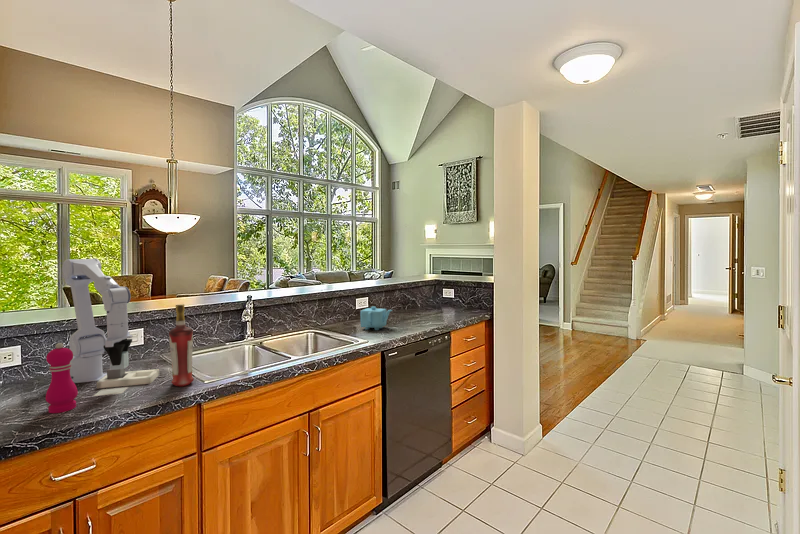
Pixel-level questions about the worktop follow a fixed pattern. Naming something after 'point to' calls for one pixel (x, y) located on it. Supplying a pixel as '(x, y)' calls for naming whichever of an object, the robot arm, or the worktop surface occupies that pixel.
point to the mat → (111, 391)
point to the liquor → (181, 350)
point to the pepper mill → (61, 381)
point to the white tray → (127, 378)
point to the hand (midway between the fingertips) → (119, 363)
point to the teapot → (374, 318)
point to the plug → (123, 362)
